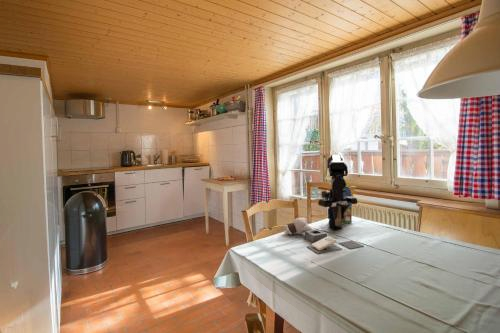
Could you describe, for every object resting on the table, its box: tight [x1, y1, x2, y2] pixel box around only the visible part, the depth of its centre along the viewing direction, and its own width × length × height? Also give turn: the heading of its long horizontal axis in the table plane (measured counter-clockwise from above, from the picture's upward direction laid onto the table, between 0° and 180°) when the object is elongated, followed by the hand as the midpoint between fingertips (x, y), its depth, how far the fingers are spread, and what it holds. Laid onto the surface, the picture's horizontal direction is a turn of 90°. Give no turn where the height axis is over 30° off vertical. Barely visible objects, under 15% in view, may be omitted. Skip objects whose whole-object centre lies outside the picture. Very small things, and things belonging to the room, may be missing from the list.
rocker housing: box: [306, 243, 343, 255], centre depth 120 cm, size 13×9×2 cm
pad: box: [338, 240, 365, 250], centre depth 123 cm, size 8×8×1 cm
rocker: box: [311, 235, 338, 251], centre depth 120 cm, size 10×6×1 cm, turn 109°
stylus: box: [335, 207, 341, 226], centre depth 125 cm, size 3×3×9 cm
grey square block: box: [304, 228, 328, 244], centre depth 131 cm, size 8×8×4 cm
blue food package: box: [328, 182, 353, 225], centre depth 159 cm, size 6×12×25 cm, turn 106°
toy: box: [282, 217, 314, 236], centre depth 141 cm, size 13×9×15 cm
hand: (338, 219), depth 125 cm, fingers closed on stylus, 3 cm apart
